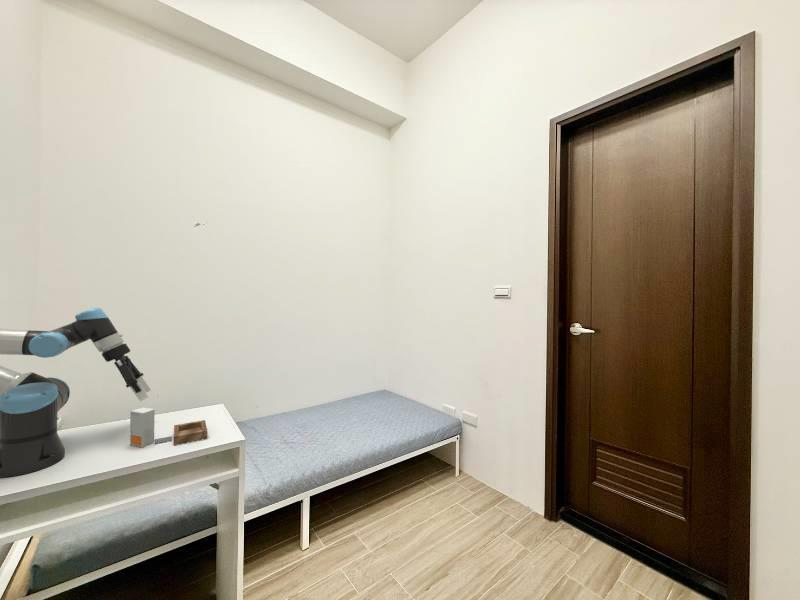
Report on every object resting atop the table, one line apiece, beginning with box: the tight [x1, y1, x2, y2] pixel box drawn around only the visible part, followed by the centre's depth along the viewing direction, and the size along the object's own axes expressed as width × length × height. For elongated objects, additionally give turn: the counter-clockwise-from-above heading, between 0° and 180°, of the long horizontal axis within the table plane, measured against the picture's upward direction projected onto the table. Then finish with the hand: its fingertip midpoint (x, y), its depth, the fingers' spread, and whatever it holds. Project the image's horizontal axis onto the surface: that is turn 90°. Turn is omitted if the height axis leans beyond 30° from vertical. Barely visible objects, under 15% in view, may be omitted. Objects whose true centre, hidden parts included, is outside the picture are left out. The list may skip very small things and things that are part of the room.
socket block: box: [172, 419, 208, 446], centre depth 119 cm, size 10×12×3 cm
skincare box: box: [129, 406, 155, 449], centre depth 112 cm, size 6×4×12 cm
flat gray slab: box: [153, 435, 173, 445], centre depth 115 cm, size 5×4×1 cm
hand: (146, 395), depth 123 cm, fingers open, 13 cm apart
